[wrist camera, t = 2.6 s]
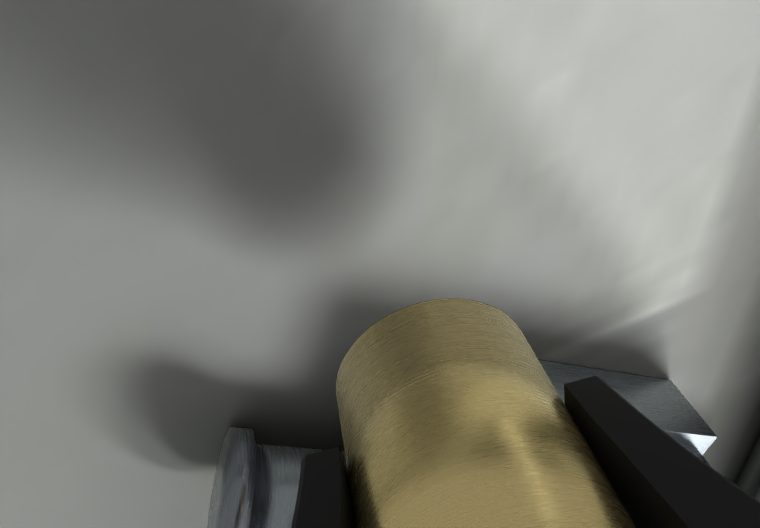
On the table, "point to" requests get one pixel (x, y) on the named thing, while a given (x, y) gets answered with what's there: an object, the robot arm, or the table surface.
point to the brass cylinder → (463, 428)
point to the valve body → (283, 464)
